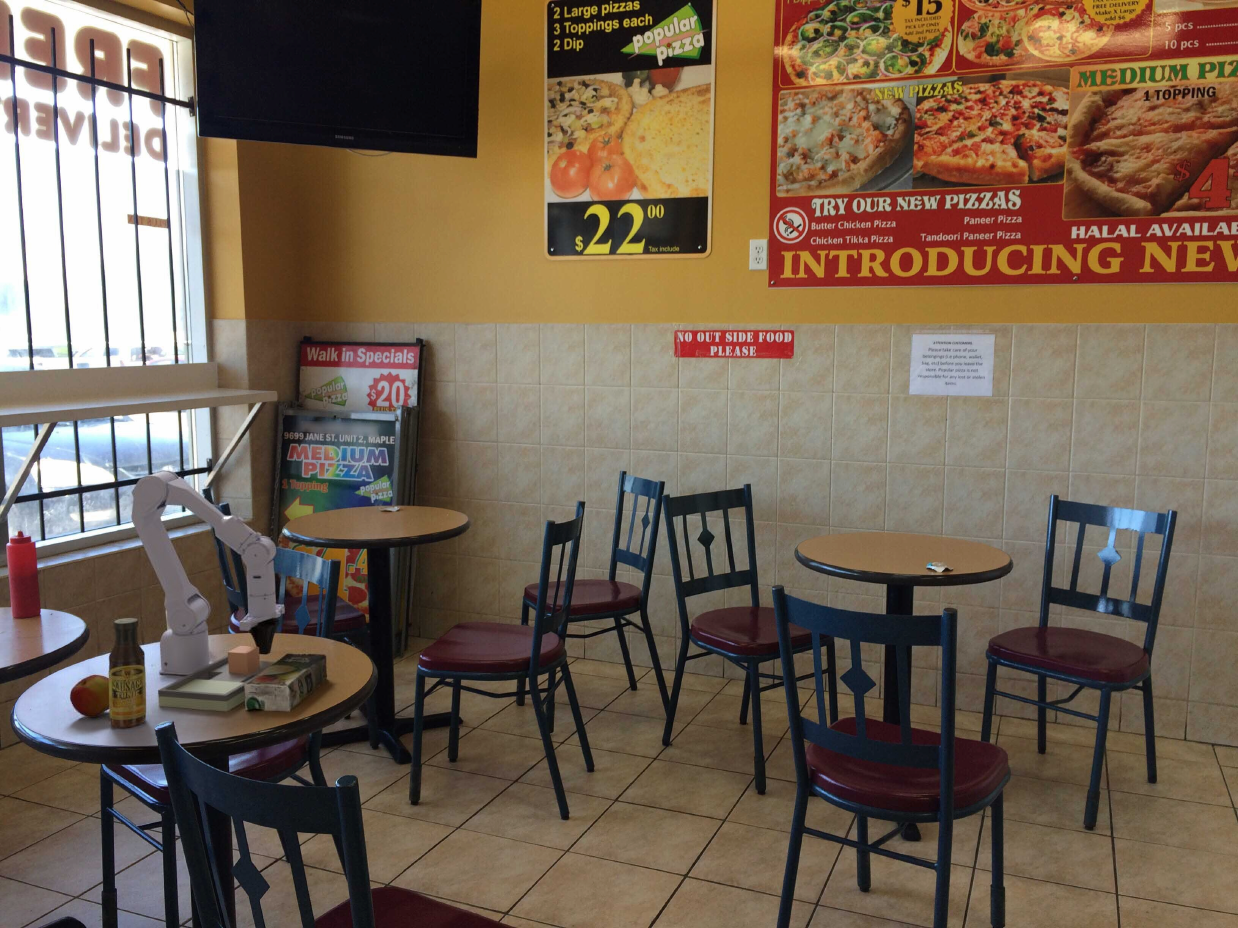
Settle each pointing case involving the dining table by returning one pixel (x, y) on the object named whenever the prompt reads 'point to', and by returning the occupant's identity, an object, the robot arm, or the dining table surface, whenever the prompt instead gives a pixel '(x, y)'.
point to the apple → (91, 695)
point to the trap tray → (209, 687)
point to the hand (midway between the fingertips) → (264, 653)
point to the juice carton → (286, 682)
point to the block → (243, 659)
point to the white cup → (167, 623)
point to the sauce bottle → (127, 676)
